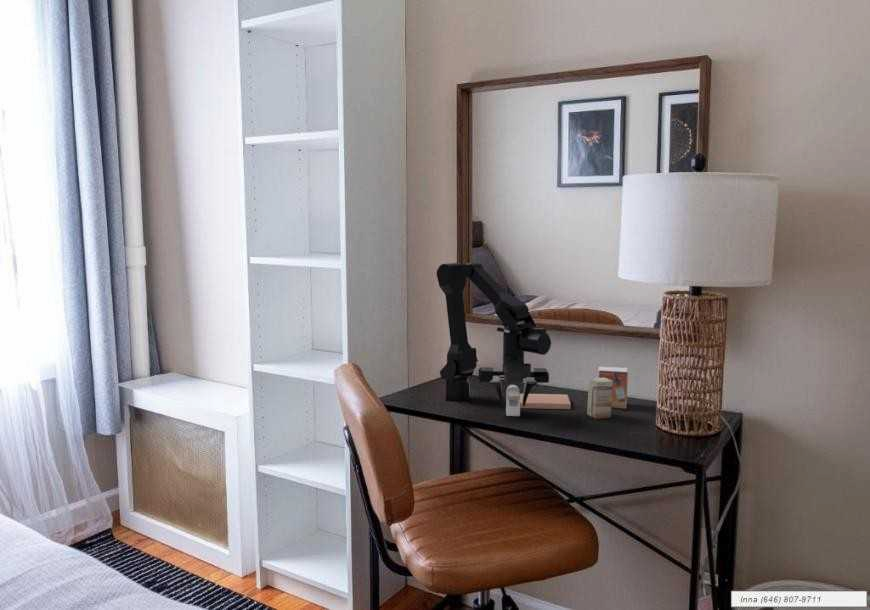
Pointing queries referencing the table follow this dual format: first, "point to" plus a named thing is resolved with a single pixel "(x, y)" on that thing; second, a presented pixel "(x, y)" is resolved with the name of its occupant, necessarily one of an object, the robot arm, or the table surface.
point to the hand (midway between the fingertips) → (512, 405)
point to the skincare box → (599, 397)
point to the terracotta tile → (546, 401)
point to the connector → (512, 401)
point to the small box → (616, 384)
